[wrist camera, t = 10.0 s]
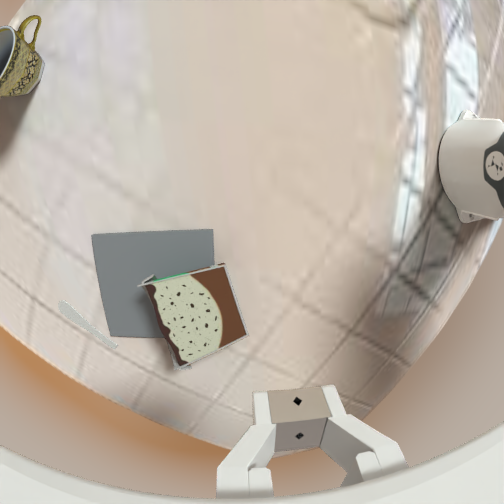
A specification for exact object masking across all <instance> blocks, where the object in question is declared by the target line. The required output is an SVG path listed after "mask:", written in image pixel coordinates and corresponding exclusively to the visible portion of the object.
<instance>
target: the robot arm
mask: <svg viewBox="0 0 504 504" xmlns="http://www.w3.org/2000/svg"><path fill="white" fill-rule="evenodd" d="M439 172H440V178H441V182H442V185H443V188H444V190H445V192H446V194H447V196H448V198H449V199H450V200H451V202H452V203H453V204H454V206H455V207H456V210H457V213H458V216H459V219H460V221H461V222H463V223H470V222H473V221H477V220H481V219H484V218H488V219H492V220H499V218H503V217H504V123H503V122H502V121H501V120H500V119H486V118H480V117H479V116H477V115H476V114H475V113H473V112H472V111H470V110H463V111H462V113H461V115H460V117H459V120H458V121H457V122H456V123H454V124H453V125H451V126H450V127H449V128H448V129H447V131H446V132H445V134H444V136H443V138H442V141H441V145H440V150H439ZM313 447H320V448H321V449H322V450H323V451H324V452H325V453H326V454H327V455H328V456H329V457H330V458H332V459H333V460H334V461H335V462H336V463H337V464H338V465H339V466H341V467H342V468H343V469H344V470H345V471H346V472H347V475H346V477H345V479H344V481H343V483H342V484H341V486H340V487H339V488H334V489H329V490H323V491H318V492H312V493H305V494H298V495H290V496H280V497H274V494H273V486H272V479H271V471H270V470H269V469H267V468H266V466H267V465H268V463H269V461H270V459H271V458H272V456H273V454H274V452H278V451H287V450H294V449H304V448H313ZM216 491H217V492H216V499H208V498H190V497H178V496H169V495H161V494H154V493H147V492H141V491H135V490H130V489H125V488H120V487H115V486H111V485H107V484H103V483H99V482H95V481H92V480H88V479H85V478H81V477H78V476H75V475H72V474H69V473H65V472H63V471H60V470H57V469H55V468H52V467H49V466H46V465H44V464H42V463H39V462H36V461H34V460H32V459H30V458H27V457H25V456H23V455H21V454H18V453H16V452H14V451H12V450H10V449H8V448H6V447H4V446H2V445H0V504H504V421H503V422H501V423H500V424H498V425H497V426H495V427H493V428H492V429H490V430H488V431H487V432H485V433H483V434H481V435H479V436H478V437H476V438H474V439H472V440H470V441H468V442H467V443H464V444H463V445H460V446H459V447H456V448H454V449H452V450H450V451H448V452H446V453H444V454H441V455H439V456H437V457H434V458H432V459H430V460H428V461H425V462H422V463H420V464H417V465H415V466H412V467H409V466H408V464H407V462H406V460H405V458H404V456H403V454H402V452H401V450H400V448H399V446H398V444H397V442H395V441H393V440H392V439H390V438H388V437H387V436H385V435H383V434H382V433H380V432H378V431H377V430H375V429H373V428H372V427H370V426H369V425H367V424H365V423H364V422H362V421H361V420H359V419H357V418H356V417H354V416H353V415H351V414H346V412H345V409H344V407H343V404H342V402H341V399H340V397H339V395H338V392H337V390H336V387H335V386H334V385H333V384H331V385H324V386H316V387H308V388H299V389H291V390H272V391H253V425H251V426H250V427H249V429H248V430H247V431H246V432H245V434H244V435H243V436H242V438H241V439H240V440H239V441H238V443H237V444H236V445H235V447H234V448H233V449H232V450H231V451H230V453H229V454H228V455H227V456H226V458H225V459H224V460H223V461H222V462H221V464H220V465H219V466H218V467H217V490H216Z"/></svg>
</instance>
